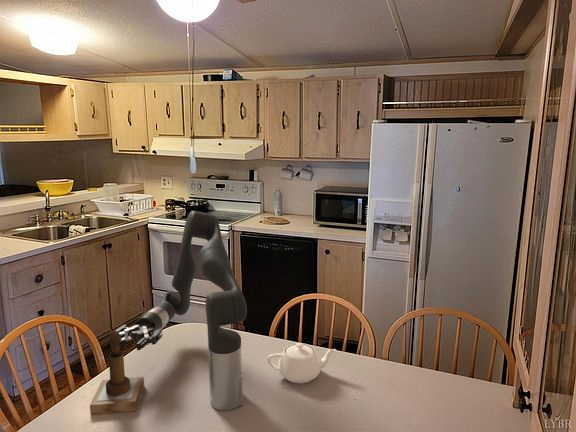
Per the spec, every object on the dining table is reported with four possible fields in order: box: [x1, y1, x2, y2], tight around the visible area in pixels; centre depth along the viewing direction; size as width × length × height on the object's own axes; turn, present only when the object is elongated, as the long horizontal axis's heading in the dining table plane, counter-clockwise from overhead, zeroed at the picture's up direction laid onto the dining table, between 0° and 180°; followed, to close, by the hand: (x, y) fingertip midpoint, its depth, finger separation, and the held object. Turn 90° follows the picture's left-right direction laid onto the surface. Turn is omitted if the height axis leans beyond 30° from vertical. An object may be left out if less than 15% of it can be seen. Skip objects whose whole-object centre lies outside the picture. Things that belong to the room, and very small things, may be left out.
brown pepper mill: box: [106, 330, 130, 396], centre depth 119 cm, size 7×6×18 cm
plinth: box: [89, 376, 145, 416], centre depth 121 cm, size 12×12×3 cm
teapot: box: [267, 342, 337, 384], centre depth 133 cm, size 22×14×11 cm, turn 94°
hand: (124, 345), depth 123 cm, fingers open, 8 cm apart
